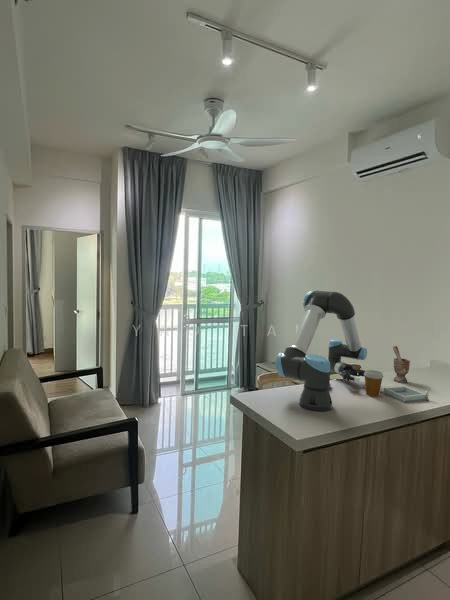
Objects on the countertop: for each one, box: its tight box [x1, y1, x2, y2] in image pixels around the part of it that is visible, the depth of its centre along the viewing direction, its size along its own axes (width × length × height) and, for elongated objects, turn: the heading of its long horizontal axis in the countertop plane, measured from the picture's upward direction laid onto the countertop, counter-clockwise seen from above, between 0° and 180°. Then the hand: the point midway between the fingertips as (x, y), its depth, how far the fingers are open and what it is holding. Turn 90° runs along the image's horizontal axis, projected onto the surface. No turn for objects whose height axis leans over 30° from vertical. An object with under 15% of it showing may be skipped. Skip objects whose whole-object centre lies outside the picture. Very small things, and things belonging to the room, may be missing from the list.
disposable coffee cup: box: [363, 369, 384, 398], centre depth 191 cm, size 10×10×12 cm
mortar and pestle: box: [392, 345, 411, 384], centre depth 219 cm, size 12×9×20 cm
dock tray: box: [380, 385, 430, 404], centre depth 190 cm, size 16×16×5 cm
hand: (369, 380), depth 195 cm, fingers open, 13 cm apart
